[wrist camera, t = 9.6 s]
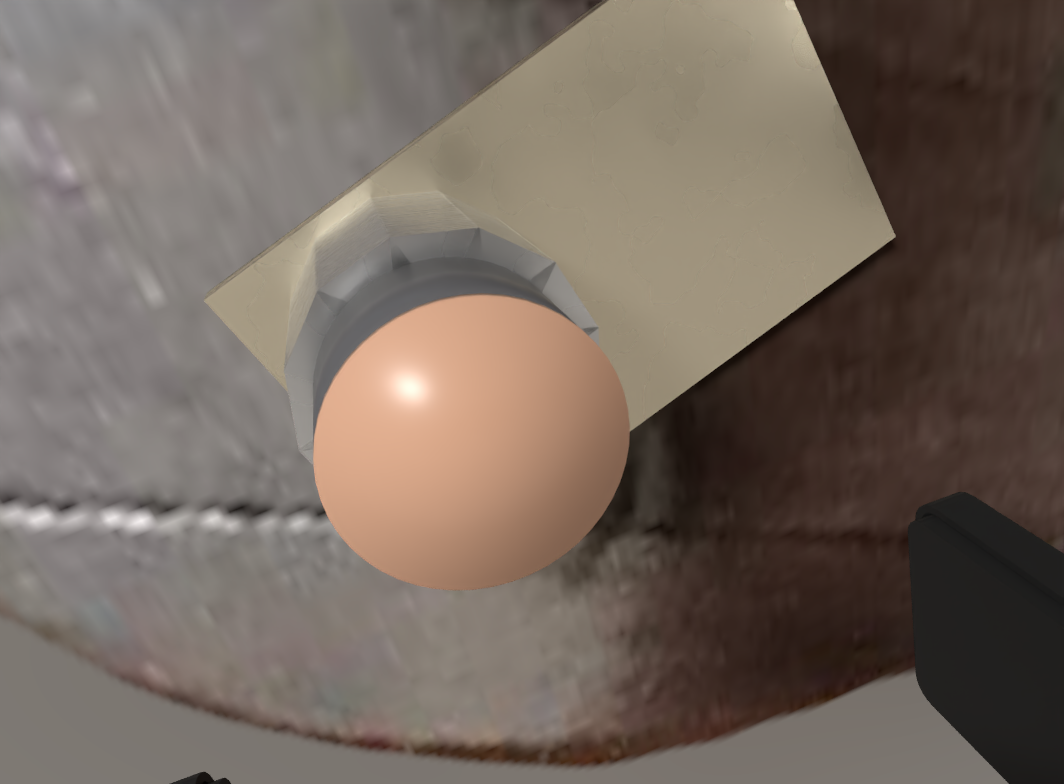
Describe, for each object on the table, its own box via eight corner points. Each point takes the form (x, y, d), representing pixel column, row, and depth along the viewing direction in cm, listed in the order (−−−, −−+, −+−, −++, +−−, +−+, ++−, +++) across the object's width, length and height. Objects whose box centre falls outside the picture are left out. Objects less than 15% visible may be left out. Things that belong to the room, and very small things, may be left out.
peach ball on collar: (460, 185, 22) (519, 227, 16) (588, 369, 25) (681, 467, 19) (260, 333, 22) (240, 436, 16) (411, 500, 25) (444, 642, 19)
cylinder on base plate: (733, -97, 26) (895, -164, 19) (878, 232, 32) (1047, 278, 24) (207, 292, 26) (168, 374, 19) (443, 551, 32) (482, 691, 25)
